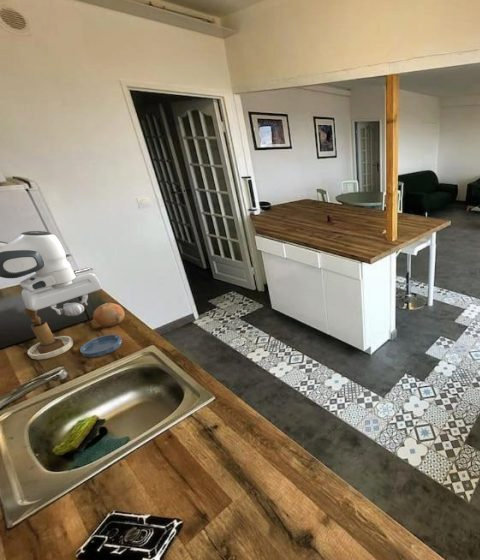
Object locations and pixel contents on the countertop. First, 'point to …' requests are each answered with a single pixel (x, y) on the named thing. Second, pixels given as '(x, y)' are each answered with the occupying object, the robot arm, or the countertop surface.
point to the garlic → (73, 309)
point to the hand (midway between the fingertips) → (73, 309)
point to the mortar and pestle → (43, 334)
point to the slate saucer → (101, 346)
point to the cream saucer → (36, 355)
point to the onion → (108, 314)
